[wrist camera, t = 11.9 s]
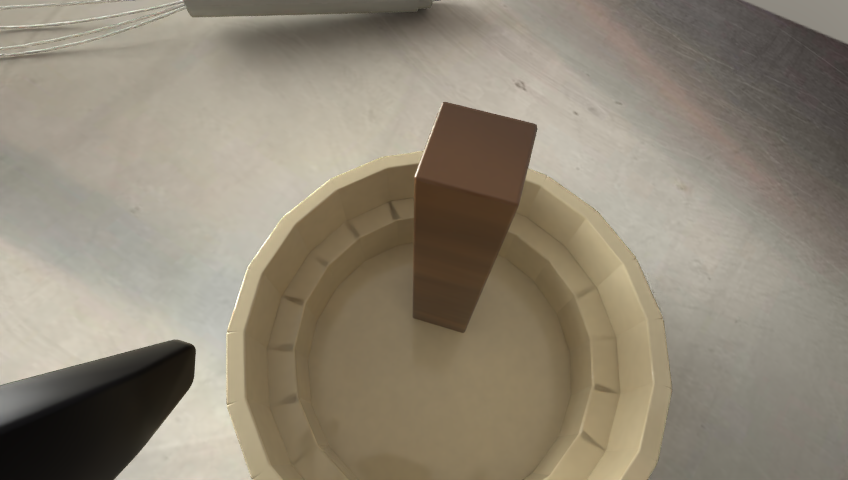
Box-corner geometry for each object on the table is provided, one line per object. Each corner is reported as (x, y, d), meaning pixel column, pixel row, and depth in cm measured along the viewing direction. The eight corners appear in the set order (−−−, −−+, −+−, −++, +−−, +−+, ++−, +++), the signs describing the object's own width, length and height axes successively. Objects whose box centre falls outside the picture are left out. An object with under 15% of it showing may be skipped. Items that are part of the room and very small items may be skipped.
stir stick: (464, 334, 19) (519, 205, 9) (412, 318, 20) (413, 177, 10) (477, 284, 20) (538, 122, 11) (427, 270, 21) (442, 99, 11)
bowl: (544, 636, 15) (607, 722, 10) (204, 446, 18) (124, 441, 13) (635, 286, 21) (703, 234, 16) (371, 178, 23) (360, 103, 18)
